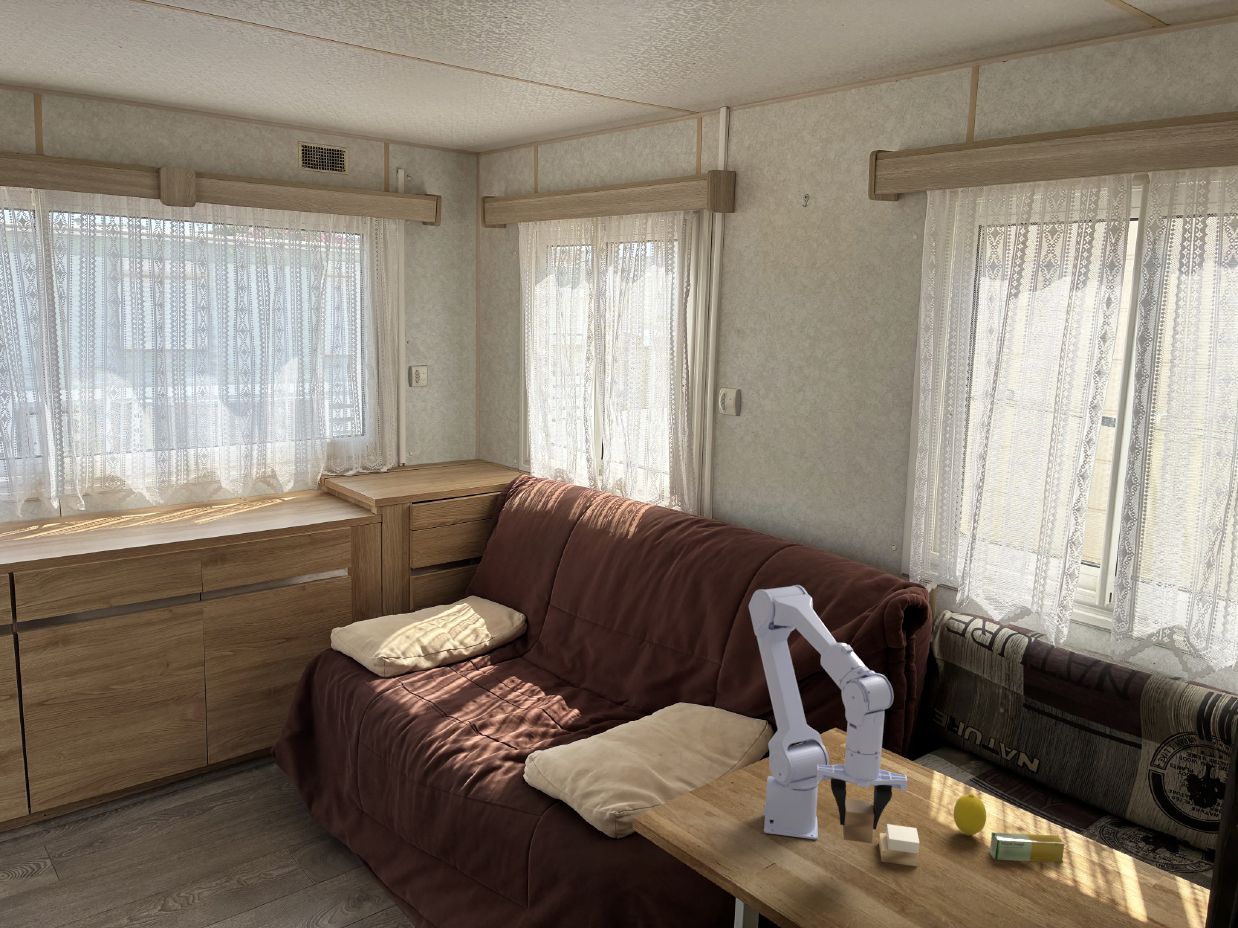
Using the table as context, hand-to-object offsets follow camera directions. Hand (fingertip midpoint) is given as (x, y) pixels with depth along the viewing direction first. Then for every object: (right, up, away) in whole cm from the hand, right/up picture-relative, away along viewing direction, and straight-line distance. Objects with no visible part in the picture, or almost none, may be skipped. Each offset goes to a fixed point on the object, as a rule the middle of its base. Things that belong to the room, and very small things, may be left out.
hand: (857, 823), depth 155 cm
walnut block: (0, -2, 0) cm, 2 cm away
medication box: (+31, -9, +7) cm, 33 cm away
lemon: (+24, -8, +14) cm, 28 cm away
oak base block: (+9, -8, +7) cm, 14 cm away
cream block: (+9, -6, +6) cm, 13 cm away
